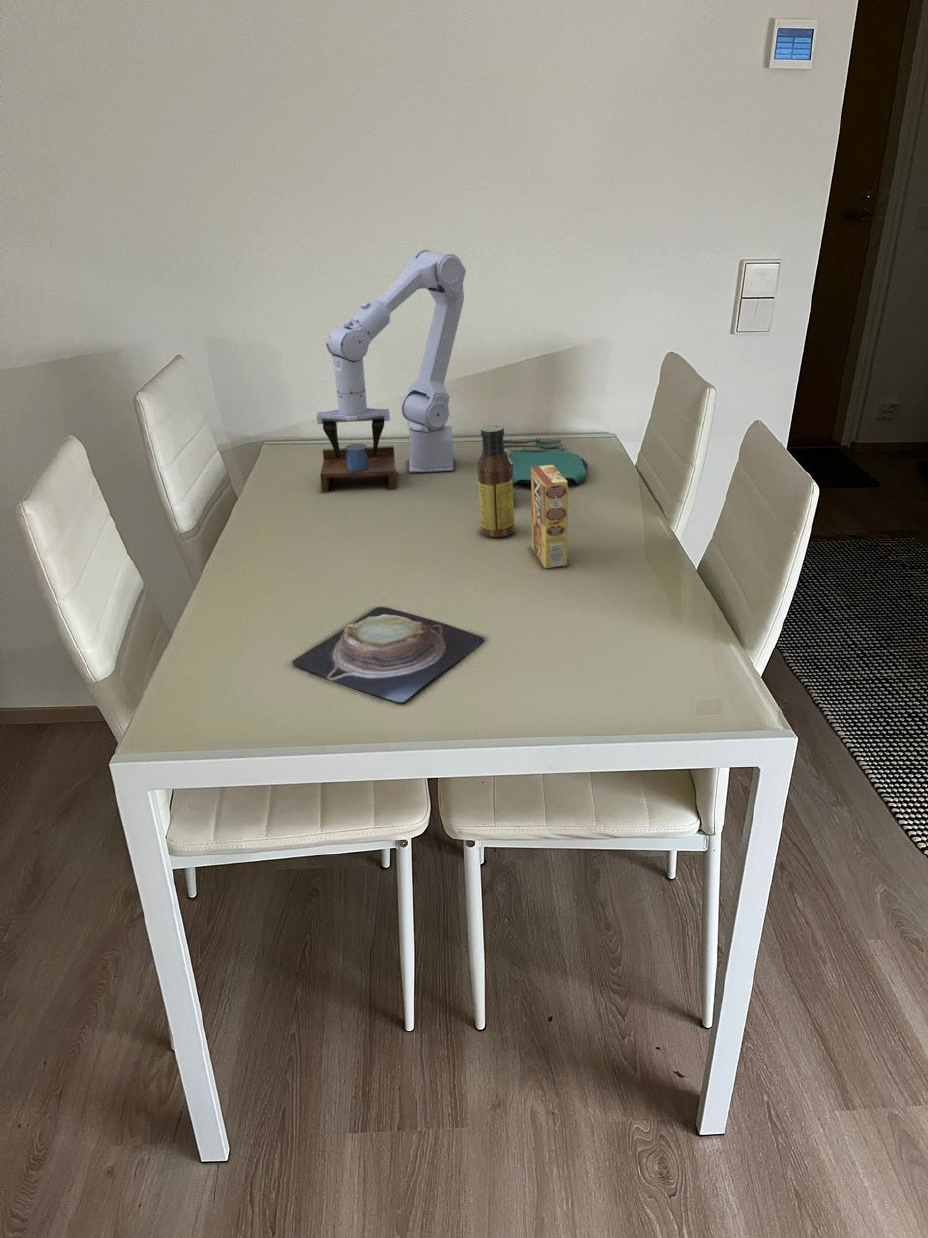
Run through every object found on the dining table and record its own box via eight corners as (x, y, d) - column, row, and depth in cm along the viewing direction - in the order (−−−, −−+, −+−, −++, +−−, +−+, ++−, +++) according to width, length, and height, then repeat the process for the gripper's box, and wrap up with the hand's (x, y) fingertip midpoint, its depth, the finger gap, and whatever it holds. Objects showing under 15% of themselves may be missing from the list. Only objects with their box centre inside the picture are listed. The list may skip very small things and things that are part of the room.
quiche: (402, 706, 127) (400, 680, 125) (288, 665, 137) (285, 641, 135) (487, 639, 142) (486, 615, 140) (379, 607, 152) (377, 584, 150)
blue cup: (368, 463, 201) (367, 442, 199) (368, 470, 197) (366, 449, 195) (347, 464, 201) (345, 443, 198) (346, 471, 197) (344, 450, 195)
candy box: (567, 566, 163) (570, 481, 156) (543, 569, 162) (544, 483, 155) (552, 546, 171) (554, 463, 164) (529, 548, 170) (530, 466, 163)
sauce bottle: (515, 525, 179) (514, 421, 170) (513, 539, 174) (512, 432, 164) (480, 525, 180) (478, 421, 171) (477, 538, 175) (474, 432, 165)
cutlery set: (496, 492, 195) (495, 481, 194) (489, 445, 221) (489, 436, 220) (593, 489, 195) (594, 478, 194) (576, 442, 221) (576, 433, 220)
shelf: (395, 472, 207) (393, 445, 204) (395, 489, 198) (393, 461, 196) (325, 475, 207) (323, 448, 204) (322, 492, 198) (319, 464, 195)
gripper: (312, 397, 187) (319, 463, 194) (387, 393, 188) (391, 460, 194) (315, 387, 193) (322, 452, 200) (387, 384, 194) (392, 449, 200)
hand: (356, 455), depth 197 cm, fingers open, 7 cm apart
